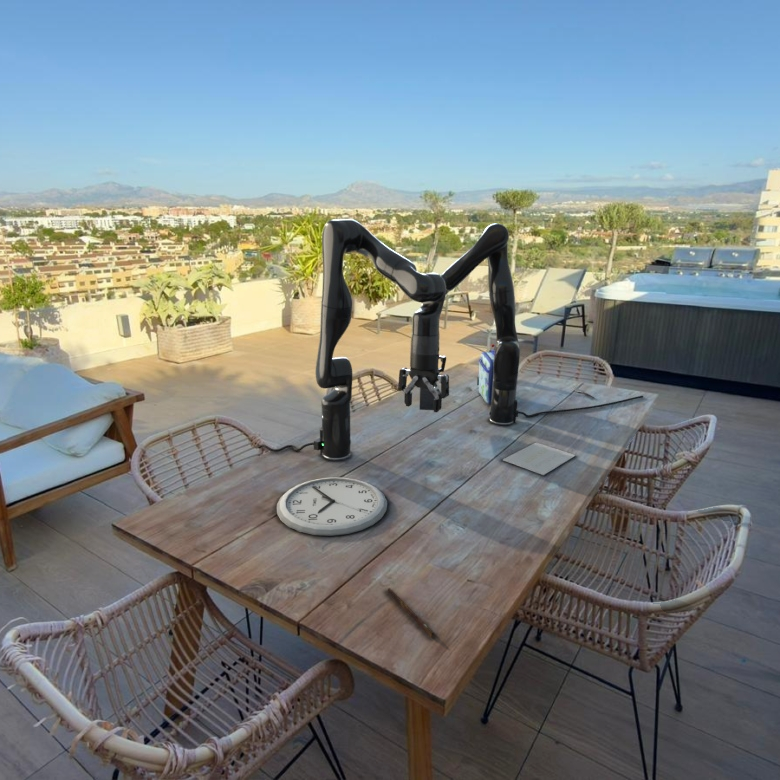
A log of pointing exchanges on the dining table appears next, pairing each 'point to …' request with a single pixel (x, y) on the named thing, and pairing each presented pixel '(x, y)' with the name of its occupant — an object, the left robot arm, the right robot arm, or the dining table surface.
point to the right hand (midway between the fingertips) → (427, 381)
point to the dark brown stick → (411, 612)
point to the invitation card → (539, 458)
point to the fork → (581, 391)
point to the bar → (426, 399)
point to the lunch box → (486, 375)
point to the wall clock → (331, 506)
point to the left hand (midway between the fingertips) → (422, 408)
